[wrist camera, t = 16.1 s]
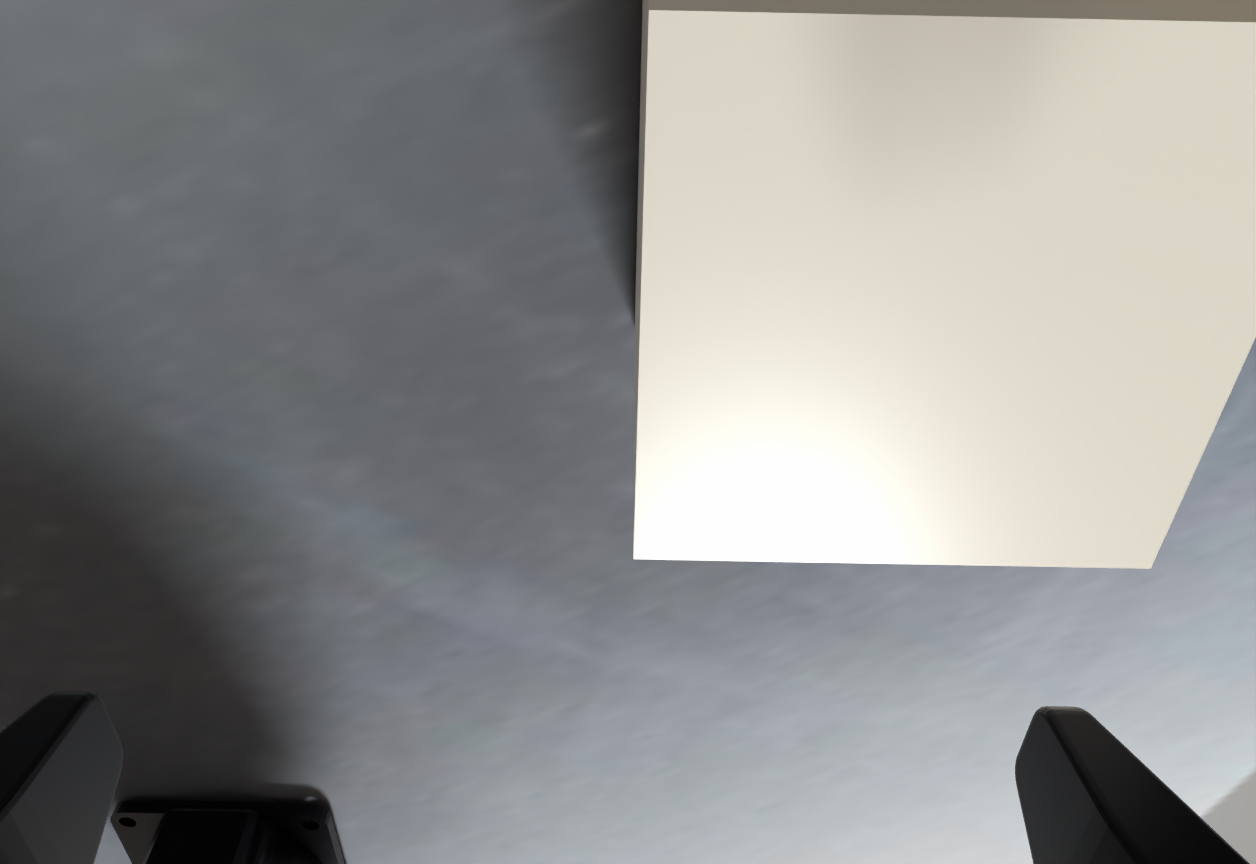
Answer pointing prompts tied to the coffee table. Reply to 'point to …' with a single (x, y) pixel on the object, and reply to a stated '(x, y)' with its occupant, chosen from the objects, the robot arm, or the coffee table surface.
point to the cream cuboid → (937, 275)
